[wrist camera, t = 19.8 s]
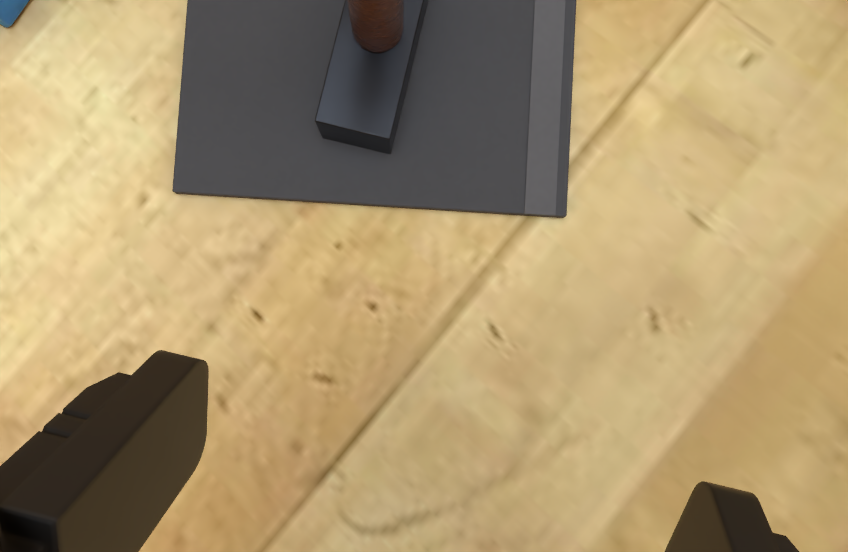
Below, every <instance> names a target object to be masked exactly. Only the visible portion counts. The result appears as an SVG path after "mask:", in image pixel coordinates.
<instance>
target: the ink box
mask: <svg viewBox="0 0 848 552" xmlns="http://www.w3.org/2000/svg"><path fill="white" fill-rule="evenodd" d="M28 2H29V0H0V24H1V25H2V26H4V27H10V26H11V25H12V24H13V23H14V21H15V20H16V19H17V17H18V16H19V14H20V13H21V12H22V10H23V9H24V7H25V6H26V5H27V3H28Z"/></svg>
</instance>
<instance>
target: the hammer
mask: <svg viewBox="0 0 848 552" xmlns="http://www.w3.org/2000/svg"><path fill="white" fill-rule="evenodd" d="M427 4H428V0H345V2H344V6H343V10H342V14H341V18H340V22H339V26H338V30H337V34H336V38H335V42H334V46H333V50H332V54H331V57H330V61H329V65H328V69H327V73H326V77H325V81H324V85H323V89H322V93H321V97H320V101H319V105H318V109H317V113H316V117H315V122H316V125H317V127H318V129H319V131H320V134H321V136H322V138H325V139H329V140H333V141H337V142H341V143H345V144H350V145H354V146H358V147H362V148H366V149H370V150H374V151H378V152H382V153H386V154H391V152H392V148H393V144H394V139H395V135H396V131H397V127H398V123H399V119H400V115H401V111H402V107H403V103H404V98H405V94H406V90H407V86H408V82H409V78H410V74H411V70H412V66H413V62H414V57H415V53H416V49H417V45H418V41H419V37H420V33H421V29H422V25H423V21H424V16H425V12H426V8H427Z"/></svg>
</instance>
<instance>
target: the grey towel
mask: <svg viewBox="0 0 848 552" xmlns="http://www.w3.org/2000/svg"><path fill="white" fill-rule="evenodd" d="M344 2H345V0H188V3H187V16H186V28H185V41H184V53H183V66H182V79H181V91H180V104H179V116H178V129H177V142H176V154H175V167H174V179H173V192H175V193H177V194H191V195H207V196H223V197H238V198H254V199H270V200H286V201H302V202H318V203H334V204H350V205H366V206H382V207H398V208H414V209H429V210H445V211H461V212H477V213H493V214H509V215H525V216H541V217H557V218H564V217H565V216H566V212H567V190H568V168H569V146H570V124H571V103H572V81H573V59H574V37H575V15H576V0H428V4H427V8H426V12H425V16H424V21H423V25H422V29H421V33H420V37H419V41H418V45H417V49H416V53H415V57H414V62H413V66H412V70H411V74H410V78H409V82H408V86H407V90H406V94H405V98H404V103H403V107H402V111H401V115H400V119H399V123H398V127H397V131H396V135H395V139H394V144H393V148H392V152H391V154H386V153H382V152H378V151H374V150H370V149H366V148H362V147H358V146H354V145H350V144H345V143H341V142H337V141H333V140H329V139H325V138H322V136H321V134H320V131H319V129H318V127H317V125H316V122H315V117H316V113H317V109H318V105H319V101H320V97H321V93H322V89H323V85H324V81H325V77H326V73H327V69H328V65H329V61H330V57H331V54H332V50H333V46H334V42H335V38H336V34H337V30H338V26H339V22H340V18H341V14H342V10H343V6H344Z"/></svg>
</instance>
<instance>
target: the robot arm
mask: <svg viewBox="0 0 848 552" xmlns="http://www.w3.org/2000/svg"><path fill="white" fill-rule="evenodd" d="M207 405H208V365H207V363H206V361H204V360H200V359H196V358H192V357H188V356H184V355H179V354H175V353H171V352H167V351H162V350H160V351H157V352H155V353H154V354H153V355H152V356H151V357H150V358H149V359H148V360H147V361H146V362H145V363H144V364H143V365H142V366H141V367H140V368H139V369H138V370H137V371H136V372H134V373H133V374H132V375H127V374H123V373H117V374H115V375H112V376H110V377H108V378H106V379H104V380H102V381H100V382H98V383H96V384H93V385H91V386H89V387H87V388H86V389H85V390H84V391H83V392H81V393H80V394H79V395H78V396H77V397H76V398H75V399H74V400H73V401H72V402H70V403H69V404H68V405H67V406H66V407H65V408H64V409H63V412H62V414H60V413H58V414H57V415H56V416H55V417H54V418H53V419H52V420H51V421H49V422H48V423H47V424H46V425H45V426H44V429H43V431H42V432H40V431H38V432H37V433H36V434H35V435H34V436H33V437H32V438H31V439H30V440H29V441H27V442H26V443H25V444H24V445H23V446H22V447H21V448H20V449H19V450H18V451H16V452H15V453H14V454H13V455H12V456H11V457H10V458H9V459H8V460H7V461H5V462H4V463H3V464H2V465H1V466H0V552H138V551H139V550H140V549H141V547H142V546H143V544H144V543H145V541H146V540H147V539H148V537H149V536H150V534H151V533H152V531H153V530H154V528H155V527H156V526H157V524H158V523H159V521H160V520H161V518H162V517H163V515H164V514H165V513H166V511H167V510H168V508H169V507H170V505H171V504H172V503H173V501H174V500H175V498H176V497H177V495H178V494H179V492H180V491H181V490H182V488H183V487H184V485H185V484H186V482H187V481H188V480H189V478H190V477H191V475H192V474H193V472H194V471H195V469H196V467H197V465H198V463H199V461H200V458H201V456H202V453H203V449H204V446H205V441H206V434H207ZM665 552H799V551H798V550H797V549H796V547H795V546H794V545H793V544H792V543H791V542H790V540H789V539H788V538H787V537H786V536H783V535H779V534H775V533H772V531H771V528H770V526H769V523H768V521H767V519H766V516H765V514H764V512H763V509H762V507H761V505H760V502H759V500H758V498H757V497H756V496H755V495H754V494H753V493H750V492H746V491H742V490H738V489H733V488H729V487H725V486H721V485H717V484H712V483H708V482H704V481H703V482H700V483H698V484H697V485H696V487H695V488H694V490H693V492H692V494H691V496H690V498H689V500H688V502H687V505H686V507H685V509H684V511H683V513H682V515H681V517H680V520H679V522H678V524H677V526H676V528H675V530H674V533H673V535H672V537H671V539H670V541H669V543H668V545H667V548H666V550H665Z"/></svg>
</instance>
